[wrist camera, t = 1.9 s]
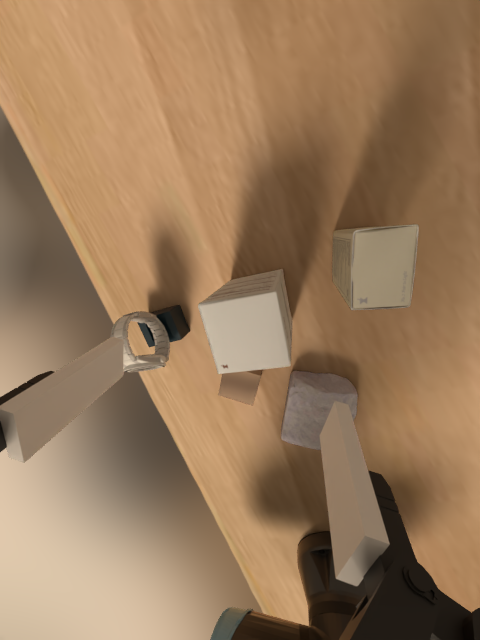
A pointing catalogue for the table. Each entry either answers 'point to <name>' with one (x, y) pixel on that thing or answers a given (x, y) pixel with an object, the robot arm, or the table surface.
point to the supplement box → (249, 323)
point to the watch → (151, 336)
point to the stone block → (313, 405)
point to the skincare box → (375, 266)
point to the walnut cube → (240, 386)
